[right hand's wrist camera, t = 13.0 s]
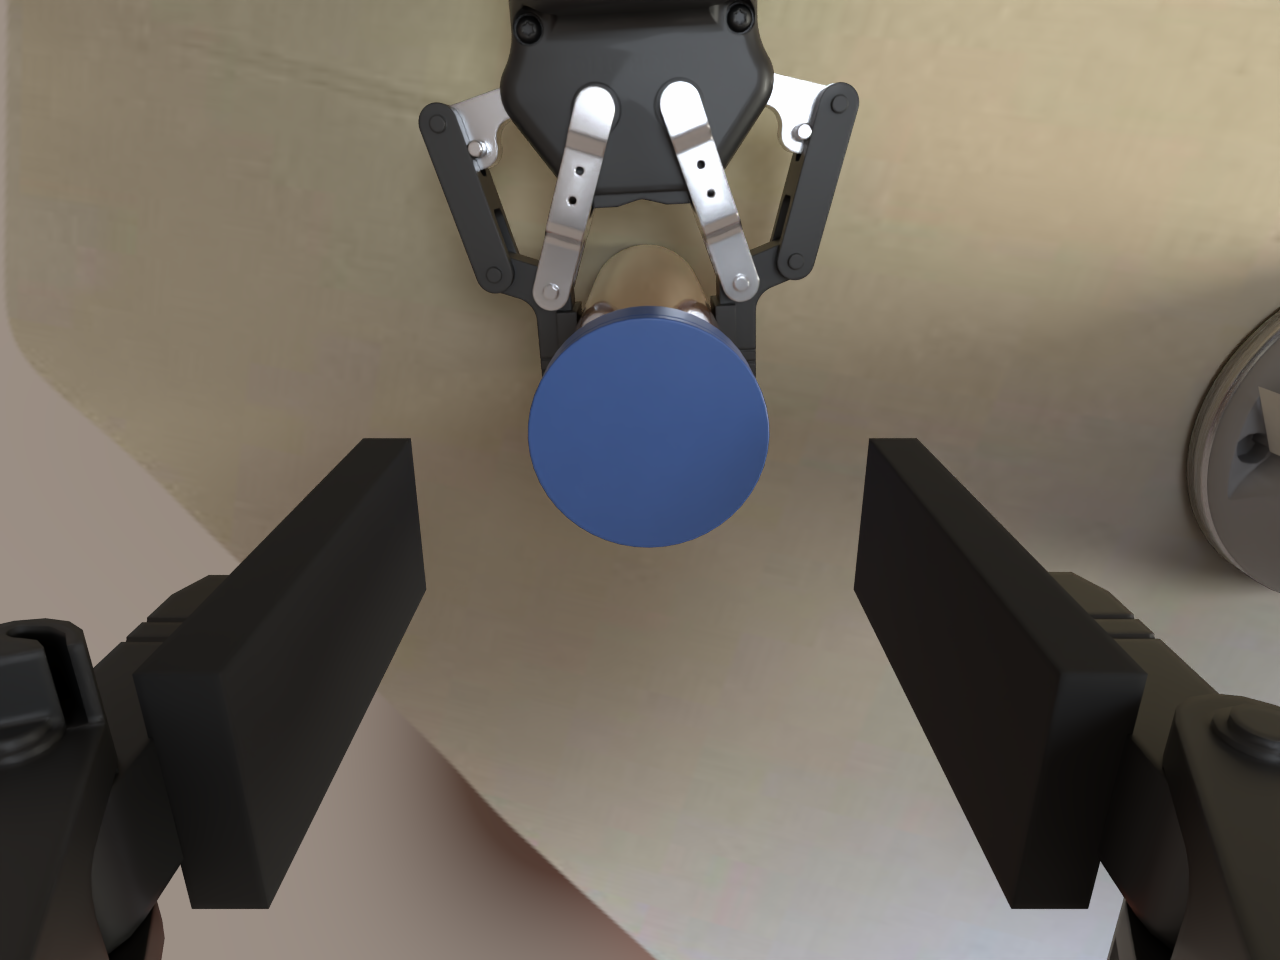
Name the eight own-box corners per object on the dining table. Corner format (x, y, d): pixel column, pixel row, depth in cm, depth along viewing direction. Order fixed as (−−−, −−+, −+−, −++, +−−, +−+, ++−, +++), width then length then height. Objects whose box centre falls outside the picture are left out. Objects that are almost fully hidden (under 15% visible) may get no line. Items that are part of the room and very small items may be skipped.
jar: (586, 348, 36) (535, 517, 19) (597, 237, 35) (551, 314, 18) (692, 361, 36) (736, 539, 19) (708, 251, 35) (771, 340, 18)
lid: (528, 507, 20) (519, 535, 19) (545, 291, 18) (537, 303, 17) (740, 531, 21) (748, 559, 19) (778, 320, 19) (789, 333, 17)
